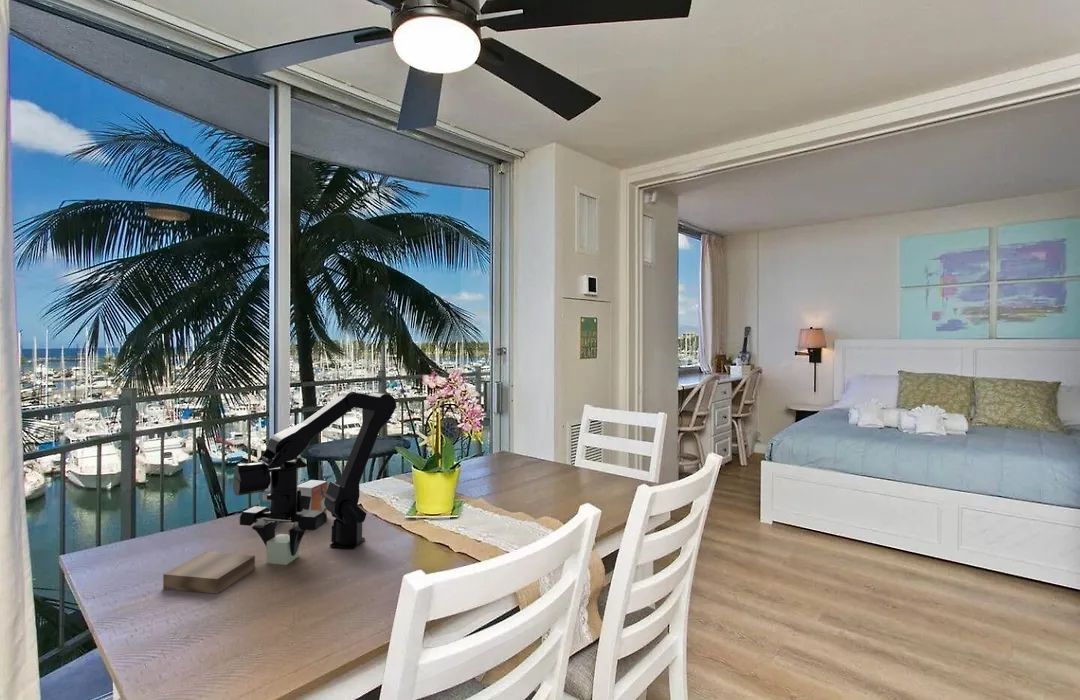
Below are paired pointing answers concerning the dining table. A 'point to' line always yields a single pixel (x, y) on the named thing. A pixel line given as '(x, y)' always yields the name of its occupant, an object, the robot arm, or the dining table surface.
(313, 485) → the small box
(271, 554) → the sage block
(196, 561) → the walnut plinth
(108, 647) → the dining table surface
